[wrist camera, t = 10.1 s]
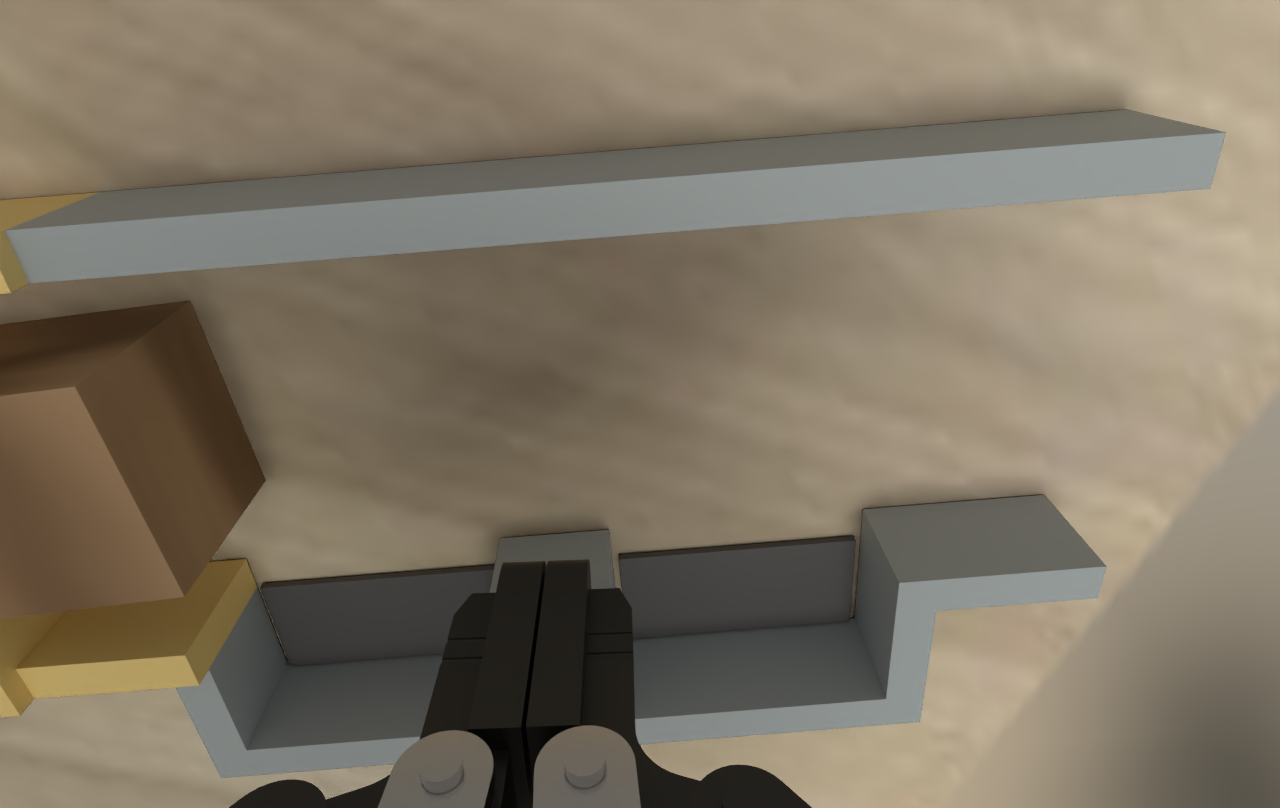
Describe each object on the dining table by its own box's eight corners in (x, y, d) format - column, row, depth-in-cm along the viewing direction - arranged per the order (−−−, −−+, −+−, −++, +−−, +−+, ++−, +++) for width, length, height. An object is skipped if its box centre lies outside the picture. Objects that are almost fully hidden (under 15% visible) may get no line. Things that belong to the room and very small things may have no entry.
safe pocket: (100, 192, 17) (-36, 247, 13) (257, 586, 22) (189, 702, 18) (-133, 211, 17) (-333, 270, 13) (79, 601, 22) (-22, 719, 18)
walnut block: (192, 298, 18) (74, 386, 14) (267, 478, 20) (184, 597, 16) (-18, 325, 18) (-195, 420, 14) (80, 501, 20) (-47, 624, 16)
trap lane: (1126, 109, 17) (1225, 132, 14) (1015, 629, 24) (1066, 709, 21) (53, 195, 17) (-53, 235, 14) (264, 689, 24) (221, 777, 21)
